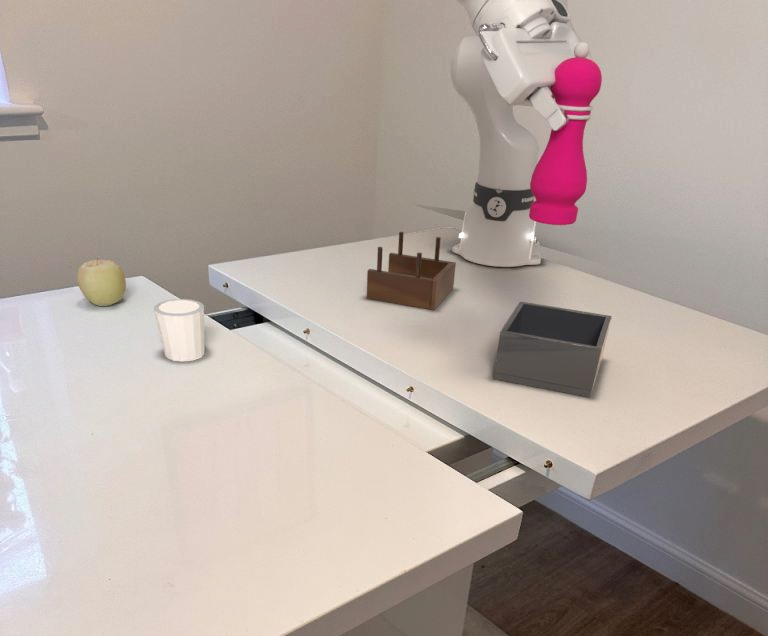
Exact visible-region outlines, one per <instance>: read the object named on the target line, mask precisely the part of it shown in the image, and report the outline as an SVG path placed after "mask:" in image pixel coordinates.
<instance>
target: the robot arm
mask: <svg viewBox="0 0 768 636" xmlns="http://www.w3.org/2000/svg"><path fill="white" fill-rule="evenodd" d="M456 2H458V3H459V4H460V5H461V6H462V7H463V8H464V9H465V10H466V12H467V15H468V17H469V20H470V24H471V28H472V30H473V31H474V33H475V34H474V35H468V36H465V37H464V38H463V39H461V41H460V42H459V43H458V45H457V46H456V48H455V50H454V52H453V54H452V58H451V62H450V79H451V82H452V85H453V88H454V89H455V91H456V93H457V94H458V96H460V98H461V99H463V101H464V102H465V103H466V104H467V106H468V108H469V110H470V111H471V113H472V114H473V117H474V119H475V123H476V125H477V131H478V135H479V161H478V162H479V163H478V173H477V181H476V182H475V183H474V189H473V193H472V194H473V196H472V197H473V198H472V202H473V204H472V206H471V207H470V208H468V209H467V210H466V211H465V212H464V217H463V222H462V223H463V224H462V229H461V232H460V233H459V234H458V239H460V242H459V243H457V244H455V245H453V246H452V249H451V251H452V253H454V254H456V255H459V256H461V257H462V258H463V259H464V260H467V261H469V262H471V263H474V264H478V265H483V266H489V267H496V268H497V267H499V268H514V267H516V268H517V267H520V266H521V267H522V266H533V265H541V263H542V254H541V243H540V241H539V240H538V238H537V236H535V232H536V227H537V222H536V221H533V220H531V219H530V217H529V213H530V206H531V203H532V202H534V201H535V199H536V198H535V196H534V195H533V193H532V191H531V188H530V183H531V178H532V174H533V172H534V169H535V167H536V165H537V163H538V158H539V151H540V149H539V147H540V146H539V144H538V140H537V138H536V137H535V135H534V134H533V133H532V132H531V131H530V130H529V129H527V128H526V127H525V126H523V125H521V124H520V123H518V121H517V120H516V118H515V116H514V111H513V107H514V106H521V107H522V106H523V107H532V108H533V109H534V110H535V111H537V112H538V113H539V115H540V116H542V118H544V119H545V120H546V121H547V122H548V124H549V126H550V127H551V129H553V130H554V131H555V130H561V129H562V128H564V126H566V125H567V124H568V123H569V117H568V116H567V115H566V112H565V110H564V109H563V108H562V109H560V107H559V106H558V104H557V103H556V102H555V98H554V96H553V94H552V91H551V86H553V85H554V84H555V69H556V68H557V66H558V65H559V64H560V63H562V62H563V61H565V60H567V59H570V58H574V57H575V55H574V49H575V47H576V45H577V44H578V43H580V42H584V41H583V40H582V39H581V38H580V35H579V34H578V32H577V31H576V30H575V27H574V25H573V23H572V20H571V19H572V17H571V14H570V12H569V6H568V0H456ZM586 58H587V59H590V60H592V61H593V57H592V53H591V51H590V50H589V54H588V55H587V57H586ZM588 121H590V119H587V121H586V123H587V122H588Z"/></svg>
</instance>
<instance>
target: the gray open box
mask: <svg viewBox="0 0 768 636" xmlns="http://www.w3.org/2000/svg"><path fill="white" fill-rule="evenodd" d="M611 321H612V315H608V314H603V313H602V314H601V313H596V312H588V311H583V310H576V309H570V308H564V307H558V306H551V305H546V304H539V303H533V302H527V301H519V302H518V303H517V305H516V306H515V309H514V310H513V311H512V312H511V314H510V316H509V318H508V319H507V321H506V322H505V323H504V325H503V326H502V328H501V330H500V331H499V337H498V344H497V349H496V356H495V357H496V358H495V364H494V372H493V380H496V381H503V382H506V383H507V382H508V383H513V384H516V385H517V384H518V385H523V386H527V387H532V388H533V387H534V388H539V389H544V390H549V391H555V392H559V393H565V394H570V395H576V396H581V397H586V398H591V396H592V393H593V391H594V386H595V383H596V380H597V377H598V374H599V369H600V366H601V363H602V360H603V355H604V352H605V347H606V342H607V339H608V335H609V330H610V326H611Z"/></svg>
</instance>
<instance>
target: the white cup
mask: <svg viewBox="0 0 768 636" xmlns="http://www.w3.org/2000/svg"><path fill="white" fill-rule="evenodd" d="M153 313H154V316H155V320H156V324H157V329H158V334H159V336H160V337H159V338H160V341H161V344H162V350H163V353H164V356H165V358H166V359H168V360H170V361H173V362H192V361H196V360H198V359H201V358H203V357H204V356H205V352H206V351H205V305H204V304H203V303H202V302H201V301H198V300H194V299H189V298H175V299H168V300H167V299H166V300H164V301H161V302H158V303H157V304H155V305H154V307H153Z"/></svg>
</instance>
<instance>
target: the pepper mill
mask: <svg viewBox="0 0 768 636" xmlns="http://www.w3.org/2000/svg"><path fill="white" fill-rule="evenodd" d="M589 51H590V46H589V44H588V43H587V42H585V41H583V42H580V43H578V44H577V45H576V47H575V49H574V55H575V57H574V58H570V59H567V60H565V61H563V62H562V63H560V64H559V65H558V66H557V68H556V69H555V84H554V85H553V86H551V91H552V94H553V96H554V98H555V102H556V103H557V104H558V106H559V107H560V109H562V108H563V109H564V110H565V112H566V115H567V116H568V117H569V123H568V124H567V125H566V126H564V128H562V129H561V130H555V131H554V130H553V129H552V128H551V130H550V134H549V139H548V142H547V144H546V147H545V149H544V151H543V153H542V155H541V156H540V158H539V160H538V161H537V165H536V167H535V169H534V172H533V174H532V178H531V183H530V188H531V191H532V193H533V195H534V196H535V198H534V199H535V200H534V202H532V203H531V206H530V213H529V217H530V219H531V220H533V221H536V223H539V224H545V225H551V226H568V225H573V224H575V223H576V221H577V218H578V212H579V208H578V206H577V205H575V204H576V203H577V202H578V201H579V200H580V199H581V198H582V197H583V196H584V194H585V193H586V190H587V185H588V173H587V172H588V170H587V166H586V159H585V155H584V134H585V129H586V126H587V125H586V124H587V122H588V121H587V119H589V120H591V118H592V115H591V113H592V111H593V106H592V105H591V103H592V101H593V100H594V99H595V98H596V97H597V96H598V94H599V93H600V91H601V87H602V82H603V81H602V80H603V76H602V71H601V68H600V67H599V65H598V64H597V63H596V62H595V61H594V60H593V59H592V60H590V59H587V58H586V57H587V55H588V54H589ZM586 121H587V122H586Z"/></svg>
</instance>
